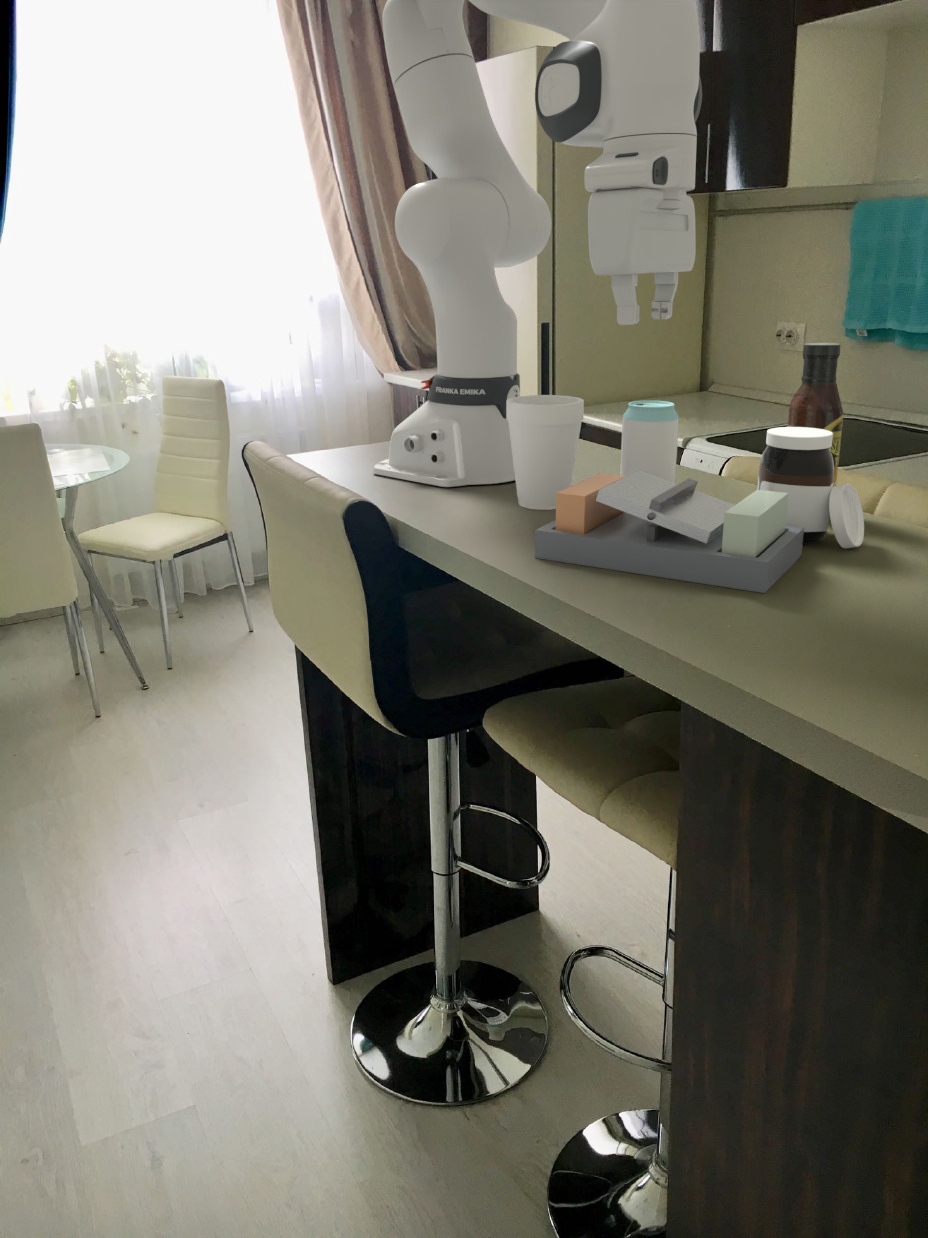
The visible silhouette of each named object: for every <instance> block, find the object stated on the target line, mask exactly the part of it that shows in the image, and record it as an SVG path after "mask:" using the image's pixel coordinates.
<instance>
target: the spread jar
mask: <svg viewBox="0 0 928 1238" xmlns="http://www.w3.org/2000/svg"><path fill="white" fill-rule="evenodd" d="M765 438H766V439H765V444H766V447H765V449H764V451H763V452H762V454H761V457H760V462H759V467H758V474H757V475H758V476H757V489H756V490H764V491H774V492H783V493H788V502H787V512H786V522H785V526H793V527H801V528H804V534H803V543H802V545H809V544H815V542H816V543H818V542H820V541H822V540H823V539H824V538H825V537H826V536H827V532H828V528H829V522H830V524H831V528H832V532H833V534H834V537H835V539H836V541H837V543H838V544H839V546H840V547H841V548H843V549H850V548H858V547H860V546H861V545H862V544H863V541H864V535H865V523H864V522H865V520H864V511H863V507H862V503H861V501H860V498H859V495H858V492H857V490H856V489H855V487H854V486H853V485H852V484H850V483H843V484H836V486H834V487H833V480H834V462H833V457H832V454H831V451H830V447H831V446H832V439H833V433H832V432H831V431H828V430H824V429H817V428H808V427H787V426H779V427H773V428H769V429H767V430H766V437H765Z"/></svg>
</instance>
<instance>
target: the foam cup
mask: <svg viewBox="0 0 928 1238" xmlns="http://www.w3.org/2000/svg"><path fill="white" fill-rule="evenodd" d="M584 406H585V400H584V399H583V398H582V397H577V396H571V395H558V394H556V395H555V394H534V395H533V394H532V395H520V396H519V397H513V398H510V399H508V400H506V420H508V424H509V432H510V440H511V448H512V456H513V465H514V473H515V480H514V481H515V487H516V488H515V489H516V495H517V500H518V505H519V507H522V508H525V509H530V510H539V511H541V510H542V511H543V510H544V511H545V510H551V511H552V510H556V493H557V492H559V491H562V490H564V489H566V488H568V487H570V486H573V484H572V483H573V477H574V472H575V471H574V470H575V466H576V457H577V452H578V445H579V440H580V433H581V427H582V422H583V420H584V413H585V411H584V409H585V407H584Z"/></svg>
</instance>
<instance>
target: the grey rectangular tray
mask: <svg viewBox="0 0 928 1238" xmlns="http://www.w3.org/2000/svg"><path fill="white" fill-rule="evenodd" d="M534 531H535V532H534V533H535V535H534V558H535V559H541V560H546V561H553V562H559V563H565V564H573V565H579V566H585V567H592V568H598V569H605V570H612V571H619V572H625V573H630V574H631V573H633V574H638V575H644V576H649V577H650V576H651V577H657V578H664V579H670V580H677V581H683V582H689V583H695V584H696V583H697V584H702V585H710V586H714V587H715V586H716V587H723V588H729V589H734V590H742V591H748V592H754V593H763V594H766V593H767V592H768V590H769V589H771V587H772V586H774V584H775V583H776V582H777V581H778V580H779V579H780V578H781V577H782V576H784V574H785V573H786V572H787V571H788V570H789V569H790V568H791V567H792V566H793V565H794V564H795V563H796V562H797V561H798V559H800V557H801V556H802V553H803V544H802V543H803V534H804V528H801V527H793V526H785V531H784V532H783V533H782V534H781V535H780V536H779V537H778V538H776V539H775V540H774V541H773V542H772V543H771V544H770V545H769V546H768V547H766V548H765V549H764V550H763V551H762V552H761V553H760V554H759V555H758V556H756V557H750V556H743V555H736V554H728V553H721V552H722V540H723V532H721V533H720V534H719V535H717V536H716V537H715V538H713V539H712V540H711V541H709V542H708V543H707V544H706V543H704V542H701V541H698V540H696V539H693V538H691V537H688V536H686V535H683V534H680V533H678V532H675V531H673V530H670V529H668V528H665V527H662V526H660V525H657V524H655V523H652V522H649V521H647V520H644V519H642V518H639V517H637V516H634V515H631V514H629V513H626V512H623V513H621V514H619V515H618V516H616V517H614V518H612V519H610V520H609V521H607V522H605V523H603V524H601V525H600V526H598V527H596V528H594V529H593V530H591V531H589V532H587V533H585V534H582V533H575V532H568V531H560V530H556V519H554V520H553V521H550V522H549V523H547V524H544V525H542V526H541V527H539V528H537V529H535V530H534Z"/></svg>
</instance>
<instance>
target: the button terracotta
mask: <svg viewBox="0 0 928 1238" xmlns="http://www.w3.org/2000/svg"><path fill="white" fill-rule="evenodd" d="M624 477H626V476H621V475H619V474H612V473H611V474H610V473H609V474H608V473H597V474H595V475H593V476H591V477H588V478H586V479H584V480H582V481H579V482H577V483H575V484H572V485H571V486H570V487H568V488H566V489H564V490H562V491H559V492H557V493H556V509H555V520H556V530H560V531H568V532H575V533H582V534H585V533H587V532H589V531H591V530H593V529H594V528H596V527H598V526H600V525H601V524H603V523H605V522H607V521H609V520H610V519H612V518H614V517H616V516H618V515H619V514H621V513H623V512H624V511H621V510H618V509H616V508H613V507H611V506H608V505H606V504H603V503H600V502H598V501H596V499H597V495H598V492H599V490H600V489H602V488H604V487H606V486H608V485H610V484H612V483H614V482H616V481H618V480H620V479H622V478H624Z"/></svg>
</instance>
